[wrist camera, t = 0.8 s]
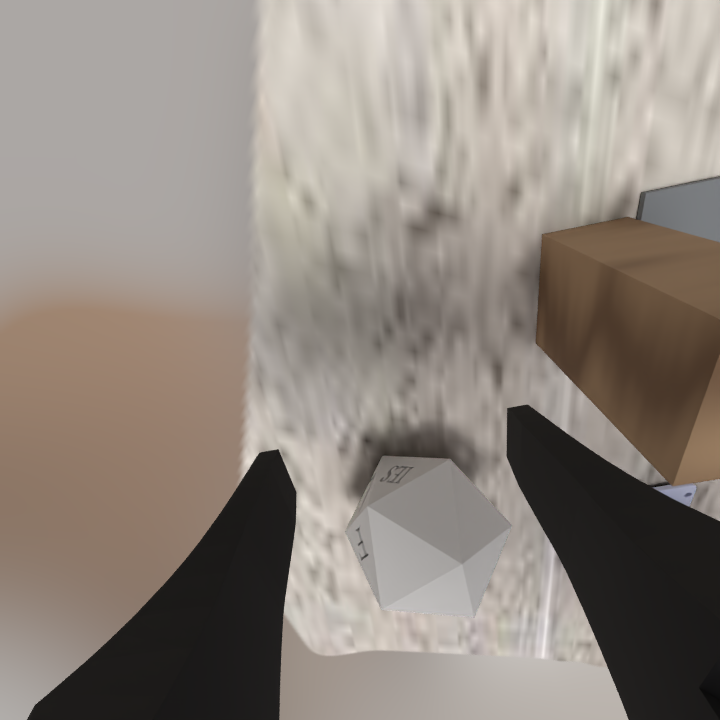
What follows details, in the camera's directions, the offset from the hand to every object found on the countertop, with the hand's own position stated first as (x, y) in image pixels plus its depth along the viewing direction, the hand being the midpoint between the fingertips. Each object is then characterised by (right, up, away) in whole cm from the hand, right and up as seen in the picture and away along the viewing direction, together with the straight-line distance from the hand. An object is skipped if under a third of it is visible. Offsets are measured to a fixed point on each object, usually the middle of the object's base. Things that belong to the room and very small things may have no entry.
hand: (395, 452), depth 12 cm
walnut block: (+10, +7, +7) cm, 14 cm away
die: (+2, -5, +14) cm, 15 cm away
